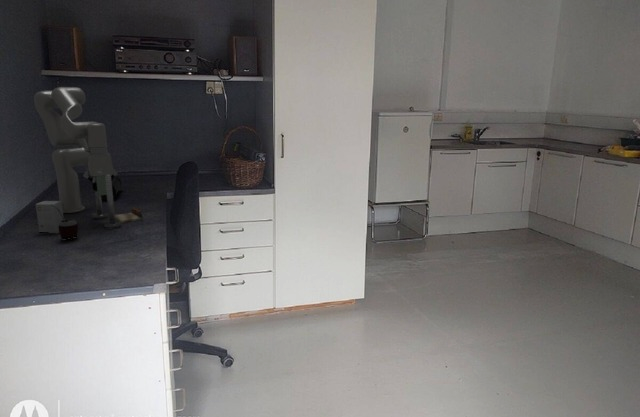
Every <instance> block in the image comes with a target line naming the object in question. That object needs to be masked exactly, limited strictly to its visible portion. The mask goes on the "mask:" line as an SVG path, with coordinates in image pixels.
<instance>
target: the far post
mask: <svg viewBox="0 0 640 417" xmlns="http://www.w3.org/2000/svg"><path fill="white" fill-rule="evenodd" d="M94 195H95V203H96V205H95V206H96V213H95V212H94V213H93V214H92V215H91V217H92V219H93V220H103V219H108V218H109V212H105V211H104V212H103V205H102V204H103V203H102V202H103V201H102V198H101V195H100V196H98V195H97V194H95V193H94Z"/></svg>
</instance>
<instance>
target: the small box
mask: <svg viewBox="0 0 640 417" xmlns="http://www.w3.org/2000/svg"><path fill="white" fill-rule="evenodd" d="M51 204H52V205H54V206H56V207H57V208H58V209H59V210H60V212H61V214H62V216H63V218H64V213H63V210H62V203H61V201H60V200H43V201H40V202H38V203H35V210H36V218H37V224H38V231H39V232H49V233H48V234H59V233H60V232H59V223H60V222H61V221H62V220H63V219H62V217H61V215H60V213H59V212H58V210H57V209H56V208H55V207H54V206H52V205H51ZM64 219H65V218H64ZM58 232H59V233H58Z"/></svg>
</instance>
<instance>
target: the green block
mask: <svg viewBox="0 0 640 417" xmlns="http://www.w3.org/2000/svg"><path fill="white" fill-rule="evenodd" d="M96 184H97V191H94V195H95V194H97V195H98V196H100V195H107V191H106V181H105V176H96Z"/></svg>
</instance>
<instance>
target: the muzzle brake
mask: <svg viewBox="0 0 640 417" xmlns="http://www.w3.org/2000/svg"><path fill="white" fill-rule="evenodd" d="M111 182H112V193H113V199H114V198H115V197H116V195H117V193H118V192H119V190H120V189H121V188H122V187H123V181H122V178H121V177H120V176H118V175H116V176H114V178H113V179H112V181H111ZM101 199H103V200H106V201H107V195H101Z"/></svg>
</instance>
